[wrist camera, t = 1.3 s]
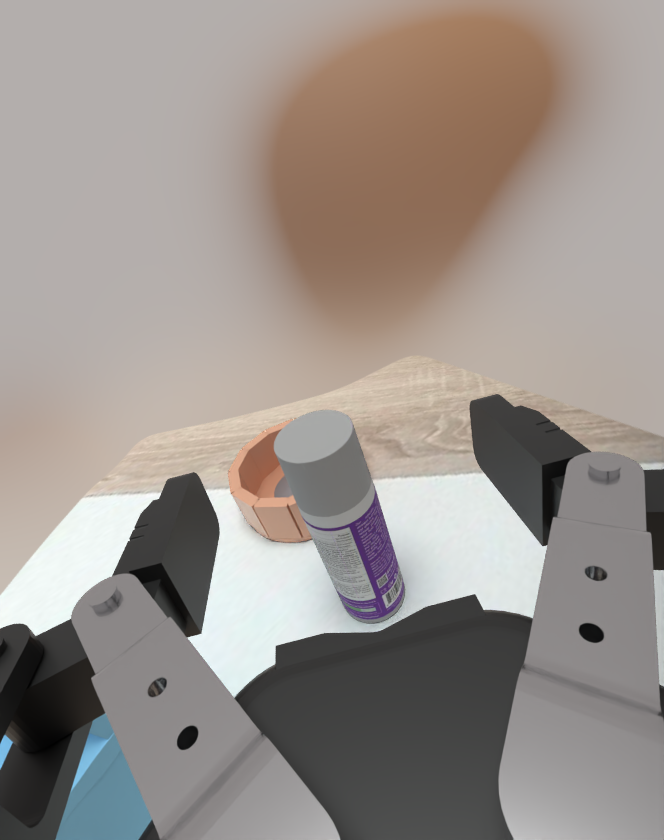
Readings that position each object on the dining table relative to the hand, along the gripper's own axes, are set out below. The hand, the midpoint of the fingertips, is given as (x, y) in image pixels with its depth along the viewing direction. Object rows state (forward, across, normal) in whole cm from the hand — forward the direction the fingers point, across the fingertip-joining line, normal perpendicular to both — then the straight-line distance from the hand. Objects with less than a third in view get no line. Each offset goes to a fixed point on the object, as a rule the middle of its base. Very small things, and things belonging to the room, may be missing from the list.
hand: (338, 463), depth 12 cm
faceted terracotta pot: (+24, +4, +17) cm, 30 cm away
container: (+12, 0, +19) cm, 22 cm away
